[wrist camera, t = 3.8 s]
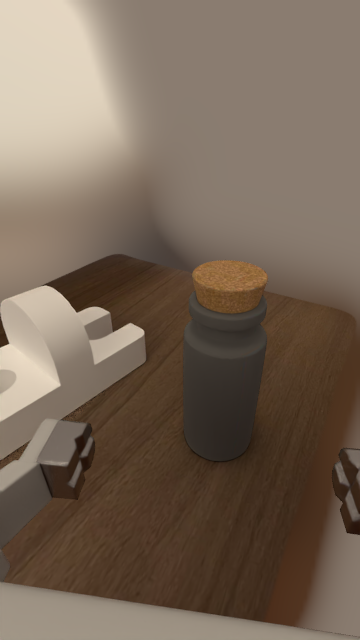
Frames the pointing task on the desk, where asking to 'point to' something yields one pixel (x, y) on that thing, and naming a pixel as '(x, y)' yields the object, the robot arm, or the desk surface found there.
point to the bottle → (223, 358)
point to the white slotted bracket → (57, 360)
